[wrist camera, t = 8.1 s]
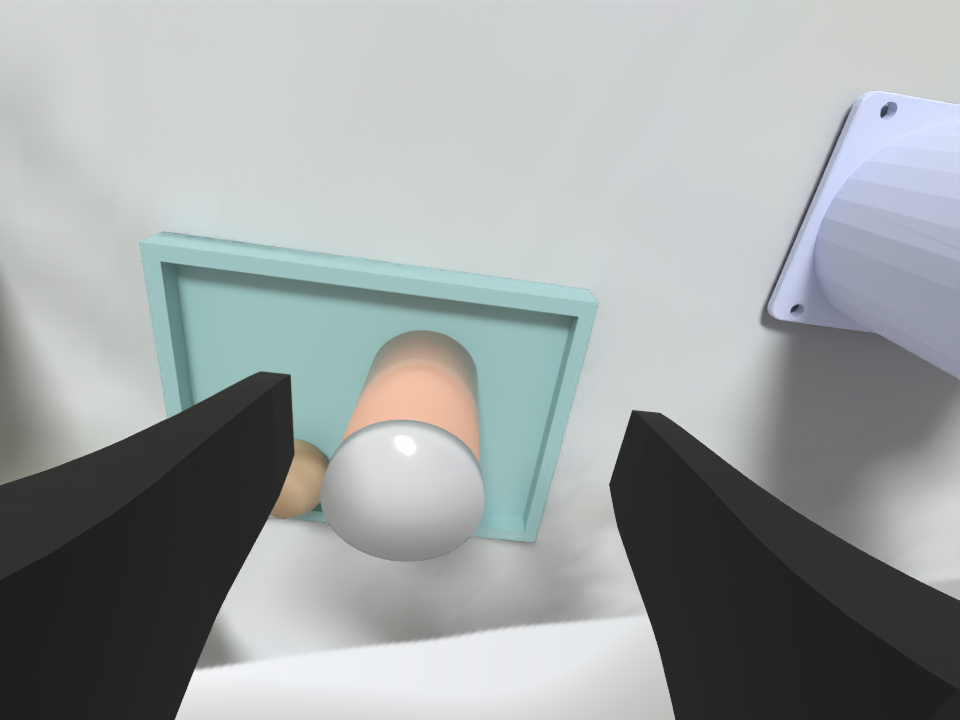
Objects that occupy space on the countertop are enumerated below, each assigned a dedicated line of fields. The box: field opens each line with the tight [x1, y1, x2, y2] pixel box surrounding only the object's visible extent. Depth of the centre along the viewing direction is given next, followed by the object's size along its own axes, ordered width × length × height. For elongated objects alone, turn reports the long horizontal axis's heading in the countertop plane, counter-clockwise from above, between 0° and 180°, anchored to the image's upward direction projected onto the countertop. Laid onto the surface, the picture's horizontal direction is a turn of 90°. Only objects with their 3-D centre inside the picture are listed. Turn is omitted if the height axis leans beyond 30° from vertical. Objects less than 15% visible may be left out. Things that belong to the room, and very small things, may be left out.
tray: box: [139, 232, 599, 542], centre depth 21 cm, size 16×12×2 cm
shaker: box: [320, 330, 484, 561], centre depth 17 cm, size 5×5×7 cm
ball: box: [270, 439, 328, 519], centre depth 21 cm, size 3×3×3 cm
